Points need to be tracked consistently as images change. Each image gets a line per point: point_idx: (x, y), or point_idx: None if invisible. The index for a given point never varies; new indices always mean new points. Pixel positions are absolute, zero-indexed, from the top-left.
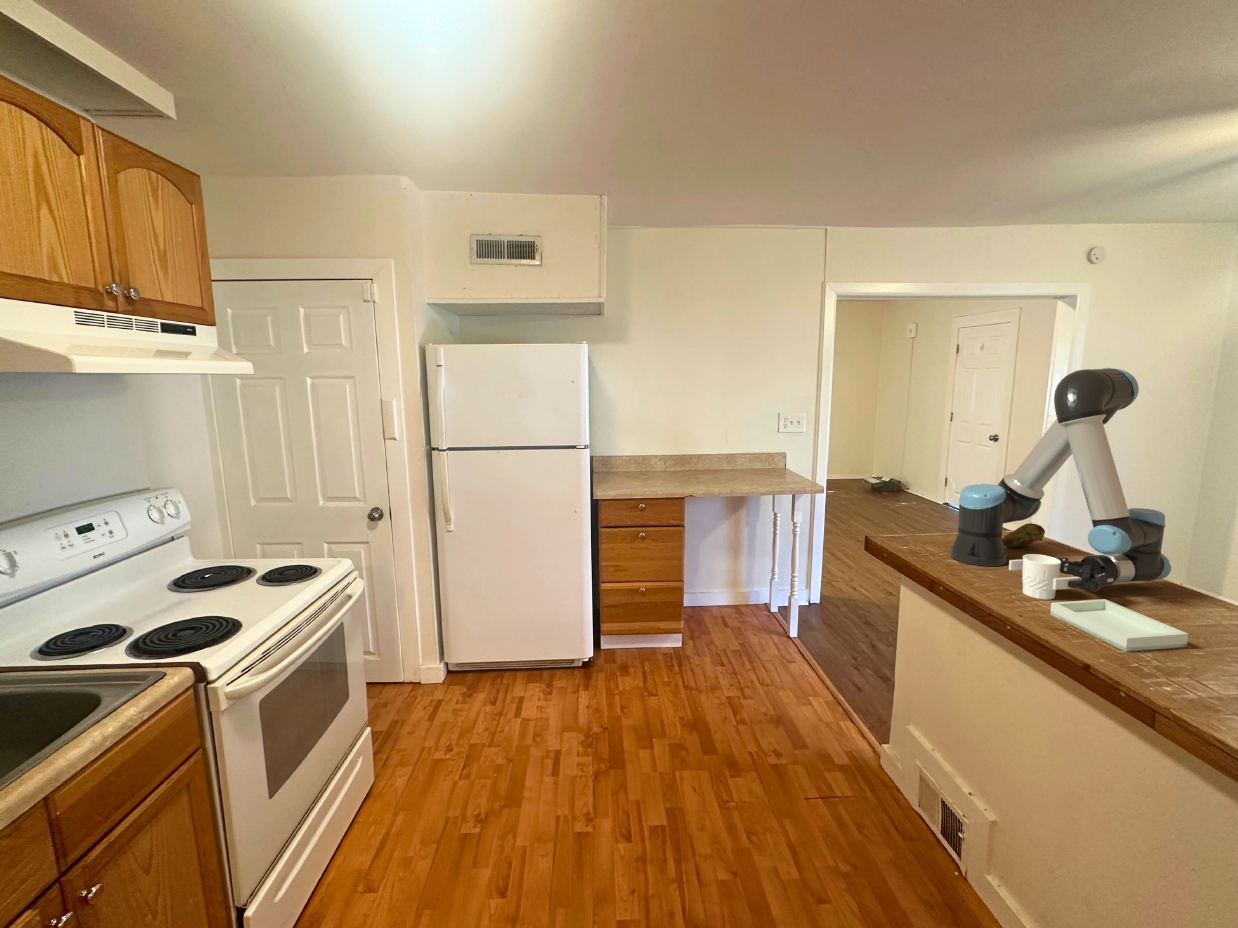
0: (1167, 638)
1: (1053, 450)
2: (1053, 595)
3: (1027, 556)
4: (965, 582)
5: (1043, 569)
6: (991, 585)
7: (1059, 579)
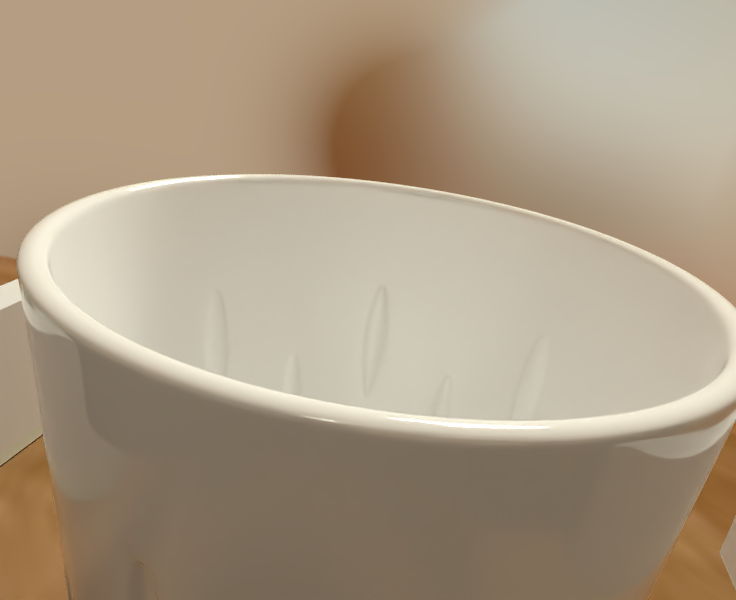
0: None
1: None
2: None
3: (675, 320)
4: (724, 489)
5: (228, 265)
6: (663, 583)
7: (6, 287)
